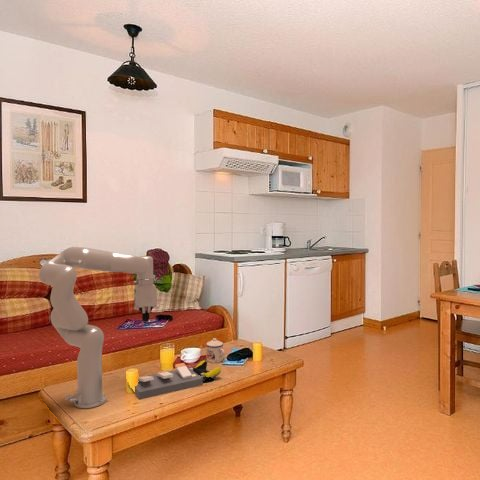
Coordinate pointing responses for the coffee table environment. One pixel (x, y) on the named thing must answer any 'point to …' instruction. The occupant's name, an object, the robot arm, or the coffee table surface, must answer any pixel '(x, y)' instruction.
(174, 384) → the switch panel
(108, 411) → the coffee table surface
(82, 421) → the coffee table surface
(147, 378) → the rocker left
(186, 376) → the rocker right
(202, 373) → the yellow black spring clamp
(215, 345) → the teacup with lid
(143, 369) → the coffee table surface
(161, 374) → the rocker middle
